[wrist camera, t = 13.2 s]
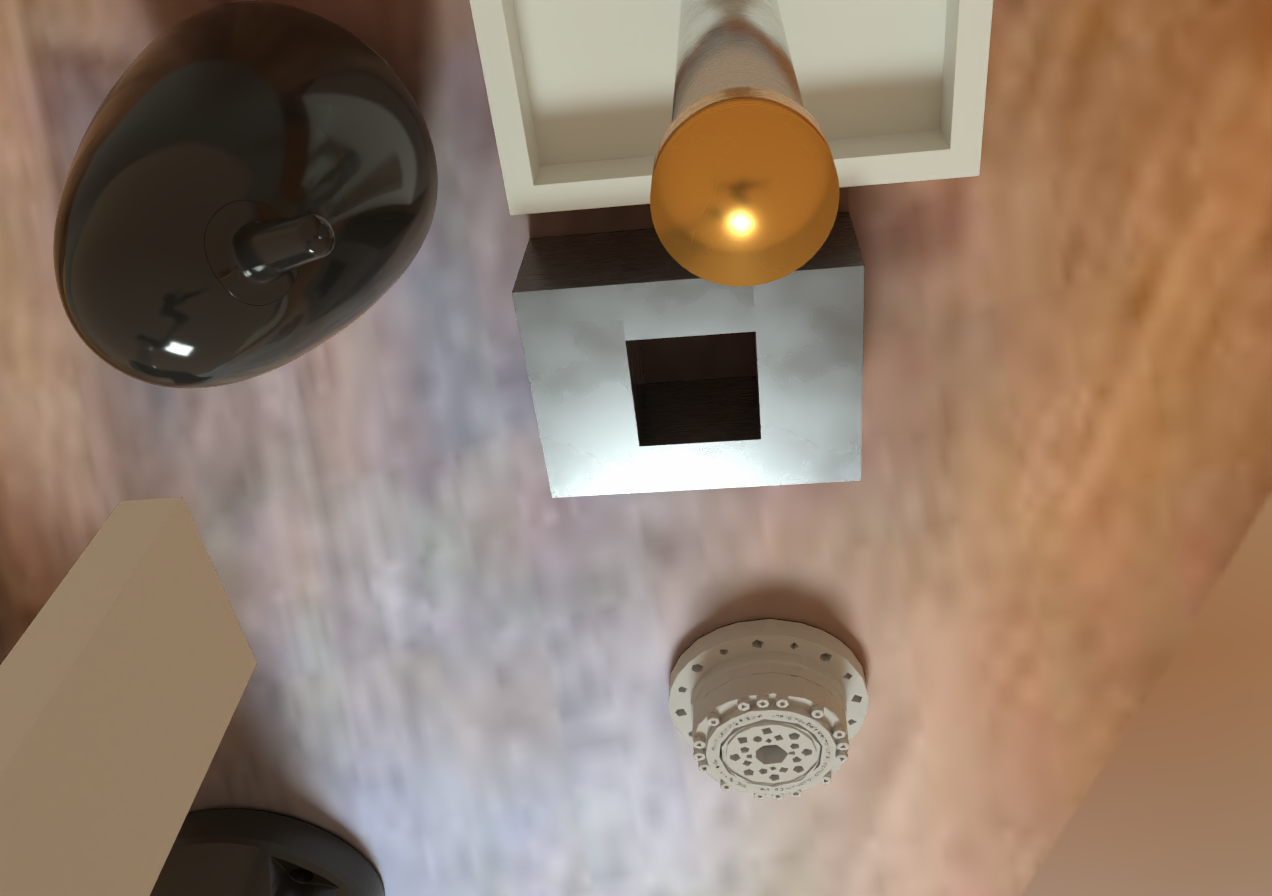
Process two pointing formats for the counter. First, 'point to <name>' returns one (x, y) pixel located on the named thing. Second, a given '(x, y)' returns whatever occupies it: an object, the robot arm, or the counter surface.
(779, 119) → the pin
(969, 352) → the counter surface
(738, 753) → the mechanical component
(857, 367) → the block
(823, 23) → the tray
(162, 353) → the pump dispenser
